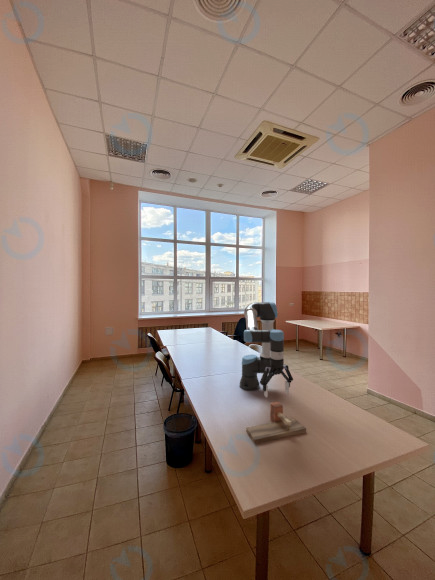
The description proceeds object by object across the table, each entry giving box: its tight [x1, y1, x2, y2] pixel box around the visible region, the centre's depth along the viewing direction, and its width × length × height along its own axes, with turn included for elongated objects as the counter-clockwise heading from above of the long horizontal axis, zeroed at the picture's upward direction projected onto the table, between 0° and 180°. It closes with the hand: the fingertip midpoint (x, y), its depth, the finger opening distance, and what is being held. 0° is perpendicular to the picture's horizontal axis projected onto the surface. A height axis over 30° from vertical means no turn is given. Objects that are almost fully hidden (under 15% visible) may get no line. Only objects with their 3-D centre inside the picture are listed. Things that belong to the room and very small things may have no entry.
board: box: [245, 417, 307, 444], centre depth 123 cm, size 10×30×2 cm, turn 107°
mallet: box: [269, 401, 291, 430], centre depth 127 cm, size 15×5×10 cm, turn 17°
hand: (276, 394), depth 132 cm, fingers open, 13 cm apart
